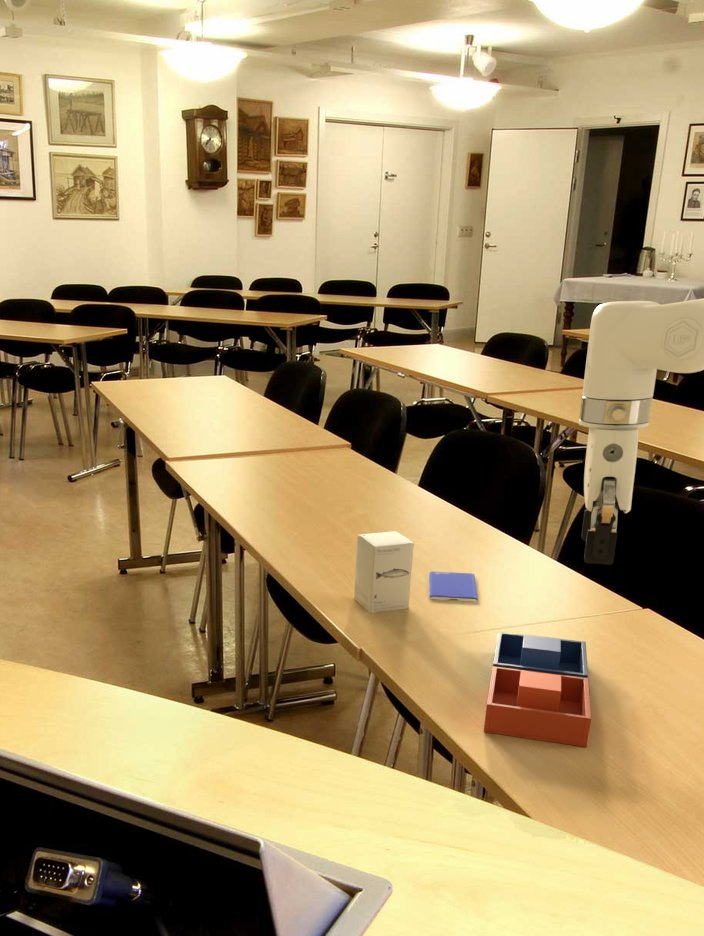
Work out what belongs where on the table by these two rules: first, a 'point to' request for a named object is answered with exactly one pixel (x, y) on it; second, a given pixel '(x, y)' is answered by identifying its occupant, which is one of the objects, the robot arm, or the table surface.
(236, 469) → the table surface
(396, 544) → the white packaging box
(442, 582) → the hard drive
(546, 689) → the rust block
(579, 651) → the blue bin
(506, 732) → the rust bin
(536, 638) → the blue block
